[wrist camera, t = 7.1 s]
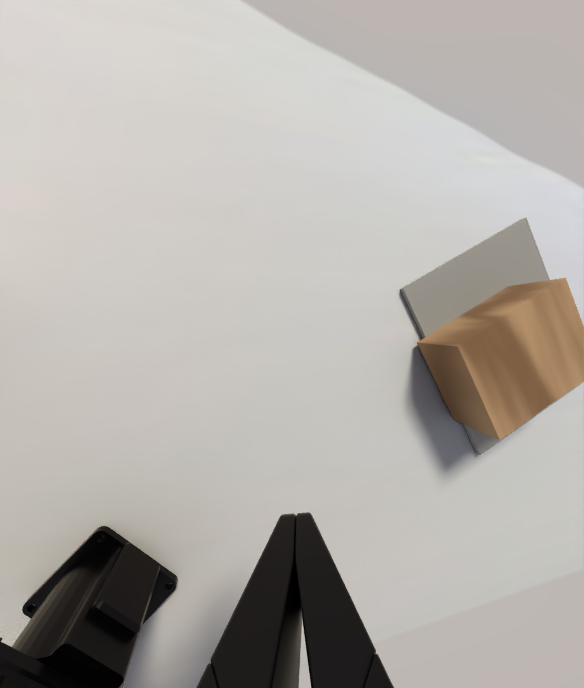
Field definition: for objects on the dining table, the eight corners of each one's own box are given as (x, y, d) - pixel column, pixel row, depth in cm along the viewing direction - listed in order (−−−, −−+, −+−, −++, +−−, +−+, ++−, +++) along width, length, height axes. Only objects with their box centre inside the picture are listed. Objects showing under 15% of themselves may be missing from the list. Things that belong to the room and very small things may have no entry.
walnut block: (499, 440, 18) (599, 369, 19) (457, 346, 17) (565, 277, 18) (453, 419, 22) (538, 362, 23) (416, 342, 21) (508, 286, 22)
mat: (476, 452, 23) (480, 454, 23) (400, 289, 21) (403, 288, 21) (581, 378, 25) (586, 379, 24) (521, 219, 23) (526, 217, 22)
